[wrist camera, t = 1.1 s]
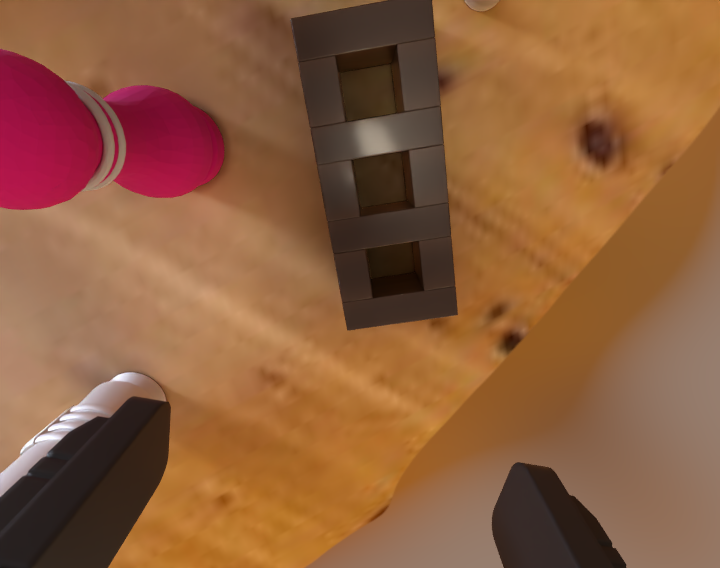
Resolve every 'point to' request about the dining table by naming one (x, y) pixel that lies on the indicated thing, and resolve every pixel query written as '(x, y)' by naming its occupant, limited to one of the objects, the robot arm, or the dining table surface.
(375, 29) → the dark brown hollow block
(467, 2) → the peg
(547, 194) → the dining table surface
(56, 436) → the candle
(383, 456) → the dining table surface
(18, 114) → the pepper mill
